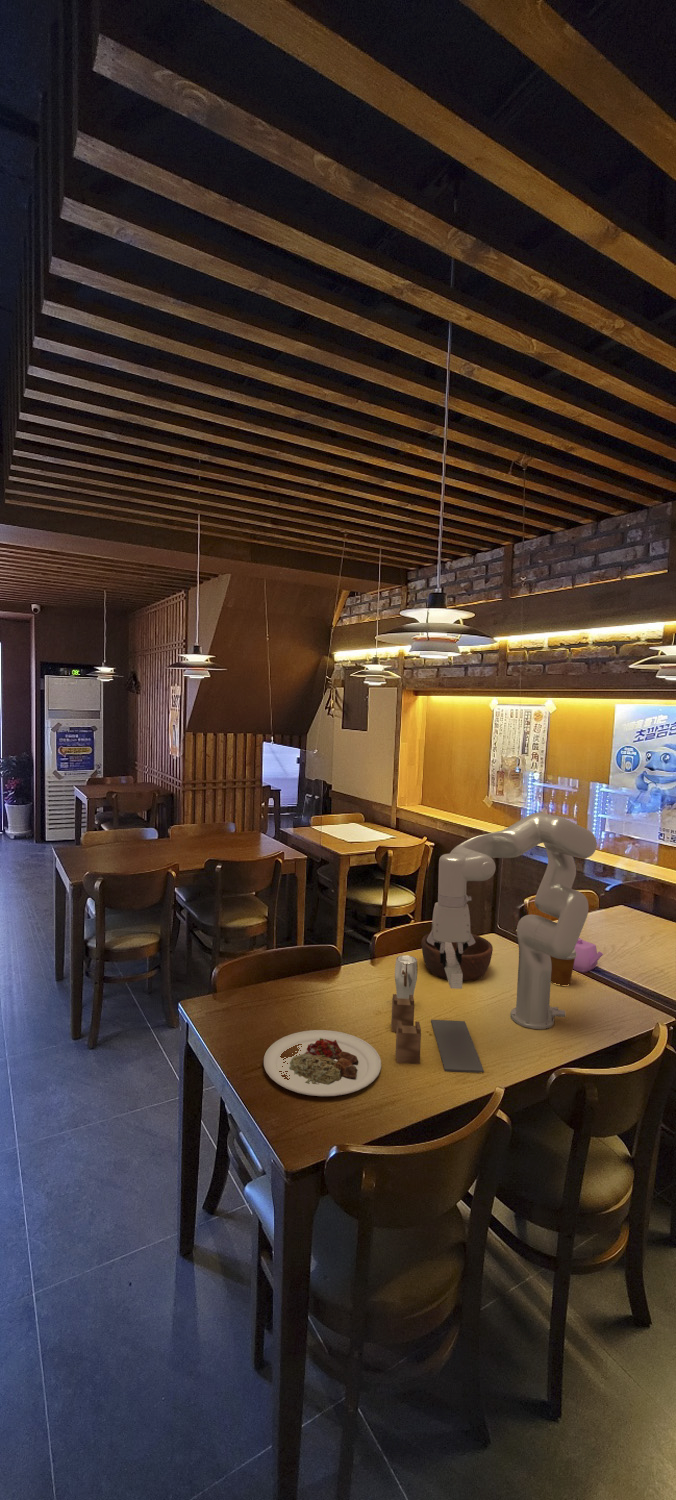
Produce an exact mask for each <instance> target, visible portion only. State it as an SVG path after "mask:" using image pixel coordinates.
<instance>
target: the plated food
mask: <svg viewBox="0 0 676 1500" xmlns="http://www.w3.org/2000/svg"><path fill="white" fill-rule="evenodd" d="M298 1044H302V1045H299V1046H297V1048H298V1047H299V1048H300V1049H299V1048H298V1049H299V1051H298V1053H297V1054H295V1055H294V1056H292V1057H288V1058H286V1057H284V1058H286V1059H284V1058H281V1057H280V1056H281V1054H282V1053H283V1052H284V1051H286V1050H287V1049H289V1048H291V1047H293V1046H295V1045H298ZM301 1046H302V1047H301ZM300 1050H301V1051H300ZM295 1052H297V1051H295ZM292 1054H293V1053H292ZM299 1054H300V1055H299ZM296 1055H297V1056H296ZM283 1059H284V1060H283ZM285 1061H286V1062H285ZM283 1062H285V1063H283ZM287 1063H288V1064H287ZM282 1066H283V1067H282ZM263 1067H264V1071H265V1072H266V1074H267V1075H268V1076H269V1078H270V1079H271V1080H272V1081H274V1082H275V1083H276V1084H277V1085H279V1086H281V1087H283V1088H284V1089H287V1090H289V1091H292V1092H295V1093H297V1094H300V1095H301V1094H302V1095H307V1096H313V1097H314V1096H317V1097H336V1096H342V1095H347V1094H351V1093H355V1092H358V1091H360V1090H362V1089H364V1088H366V1087H368V1086H369V1085H370V1084H372V1083H373V1082H374V1081H375V1080H376V1079H377V1078H378V1076H379V1075H380V1072H381V1070H382V1059H381V1057H380V1055H379V1053H378V1051H377V1050H376V1049H375V1047H374V1046H372V1045H371V1044H370V1043H369V1042H367V1041H365V1040H363V1039H362V1038H360V1037H358V1036H356V1035H352V1034H349V1033H346V1032H341V1031H336V1030H329V1029H328V1030H325V1029H316V1030H315V1029H311V1030H310V1029H309V1030H303V1031H299V1032H298V1031H297V1032H294V1033H291V1034H288V1035H285V1036H283V1037H281V1038H279V1039H277V1040H276V1041H274V1042H273V1043H272V1044H271V1045H270V1046H269V1047H268V1048H267V1050H266V1052H265V1054H264V1056H263ZM279 1071H282V1072H279ZM285 1071H288V1072H285ZM283 1072H284V1073H283ZM281 1073H282V1074H281ZM286 1073H287V1074H286ZM284 1074H285V1075H287V1076H288V1077H287V1076H286V1077H287V1078H288V1079H289V1078H290V1079H289V1080H287V1079H284V1078H285V1077H282V1076H281V1075H284ZM289 1075H290V1076H289Z"/></svg>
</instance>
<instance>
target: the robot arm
mask: <svg viewBox="0 0 676 1500" xmlns="http://www.w3.org/2000/svg"><path fill="white" fill-rule="evenodd" d="M597 842H598V841H597V838H596V836H595V835H594V833H593V832H592V831H591V830H589V829H587V828H585V827H584V826H581V825H578V824H577V823H575V822H573V821H571V820H569V819H567V818H565V817H563V816H559V815H553V814H548V813H543V812H535V813H534V812H533V813H530V814H529V815H527V816H525V817H524V818H522V819H521V820H518V821H517V822H514V823H513V824H512V825H510V826H508V827H507V828H504V829H502V830H499V831H493V832H492V831H491V832H489V833H485V834H480V835H476V836H473V837H471V838H468V839H466V840H465V841H463V842H461V843H460V844H458V845H456V846H454V848H453V849H452V850H451V851H450V852H449V853H444V854H442V855H440V857H439V860H438V882H437V883H438V887H437V888H438V889H437V891H438V893H437V902H435V903H434V907H433V912H432V922H431V931H430V932H429V933H430V934H429V933H428V934H429V936H428V938H427V942H428V943H430V944H432V945H434V946H435V947H436V948H437V949H438V950H439V951H440V963H442V966H443V968H445V967H446V952H445V942H456V943H457V949H456V950H455V954H456V957H457V959H458V962H459V964H461V960H462V953H463V951H464V950H465V949H466V948H467V947H468V946H471V945H473V944H475V940H474V938H473V936H472V934H473V933H471V916H470V908H469V904H468V902H472V896H471V895H467V883H468V882H485V881H488V880H489V879H491V878H492V877H493V876H494V874H495V872H496V869H497V868H496V862H495V860H494V859H495V858H498V859H511V858H517V857H520V856H522V855H523V854H525V853H526V852H528V851H531V850H532V849H533V848H535V847H536V846H539V845H540V844H543V846H544V849H545V851H546V855H547V866H546V868H545V871H544V875H543V877H542V879H541V882H540V884H539V887H538V889H537V891H536V894H535V897H534V905H535V908H536V909H537V910H539V911H540V912H542V913H543V914H546V915H548V916H550V917H554V918H556V919H558V920H557V921H554V920H551V919H549V918H546V917H543V916H541V915H537V914H526V915H524V916H522V917H521V918H520V919H519V920H518V922H517V926H516V939H517V944H518V945H517V946H518V966H517V967H518V968H517V969H518V970H517V984H516V985H517V988H516V1005H515V1007H514V1008H512V1009H511V1011H510V1014H509V1015H510V1016H509V1017H510V1019H511V1020H512V1021H513V1022H514V1023H516V1024H517V1025H519V1026H522V1027H525V1028H528V1029H534V1030H547V1029H549V1028H552V1027H553V1026H554V1024H555V1017H559V1018H566V1016H567V1014H566V1010H564V1009H559V1007H558V1006H551V1005H550V999H551V986H552V985H551V984H552V982H551V972H552V963H551V958H550V956H552V957H554V958H557V959H565V958H567V957H568V956H570V954H571V953H572V952H573V950H574V948H575V946H576V943H577V941H578V938H580V935H581V933H582V930H583V928H584V925H585V922H586V921H587V918H588V914H589V901H588V898H587V896H586V895H585V894H583V893H582V892H581V891H579V890H576V889H573V888H572V887H573V885H574V881H575V879H576V875H577V868H576V866H577V865H576V863H575V859H574V857H575V858H578V859H588V858H590V857H592V856H593V855H594V853H595V852H596V850H597V846H598V843H597ZM552 1025H553V1026H552ZM551 1026H552V1027H551ZM546 1028H547V1029H546Z"/></svg>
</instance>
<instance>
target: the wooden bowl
mask: <svg viewBox="0 0 676 1500" xmlns="http://www.w3.org/2000/svg"><path fill="white" fill-rule="evenodd" d="M430 933H431V932H428V933H427V934H425V935H424V936H423V937H422V939H421V952H422V958H423V962H424V963H425V967H426V969H427V970H428V971H429V972H430V973H431V974H433V975H434V976H437V977H439V978H441V979H445V980H448V979H447V975H446V972H445V969H444V968H443V966H442V963H440V951H439V950H438V949H437V948H436V947H435V946H434V945H432V944H430V943H428V942H427V938H428V936H429V934H430ZM471 934H472V936H473V938H474V940H475V944H473V945H471V946H468V947H467V948H466V949H465V950H464V951H463V953H462V960H461V964H459V965H460V968H461V970H462V973H463V979H462V982H472V981H476V980H479V979H481V978H482V977H484V975H485V974H486V973H487V971H488V969H489V967H490V964H491V960H492V955H493V951H494V950H493V949H494V948H493V945H492V943H491V942H490V941H489V940H487V939H486V938H484V937H482V936H480V935H476V934H474V933H471ZM451 943H452V945H453V948H454V951H455V950H456V949H457V943H456V942H451Z"/></svg>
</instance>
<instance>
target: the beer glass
mask: <svg viewBox="0 0 676 1500" xmlns="http://www.w3.org/2000/svg"><path fill="white" fill-rule="evenodd" d="M394 981H395V991H396V995H397V998H402V999H409V995H413V998H414V997H415V988H416V985H417V981H418V959H417V958H416V957H414V956H412V955H398V956H396V958H395V966H394Z"/></svg>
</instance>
